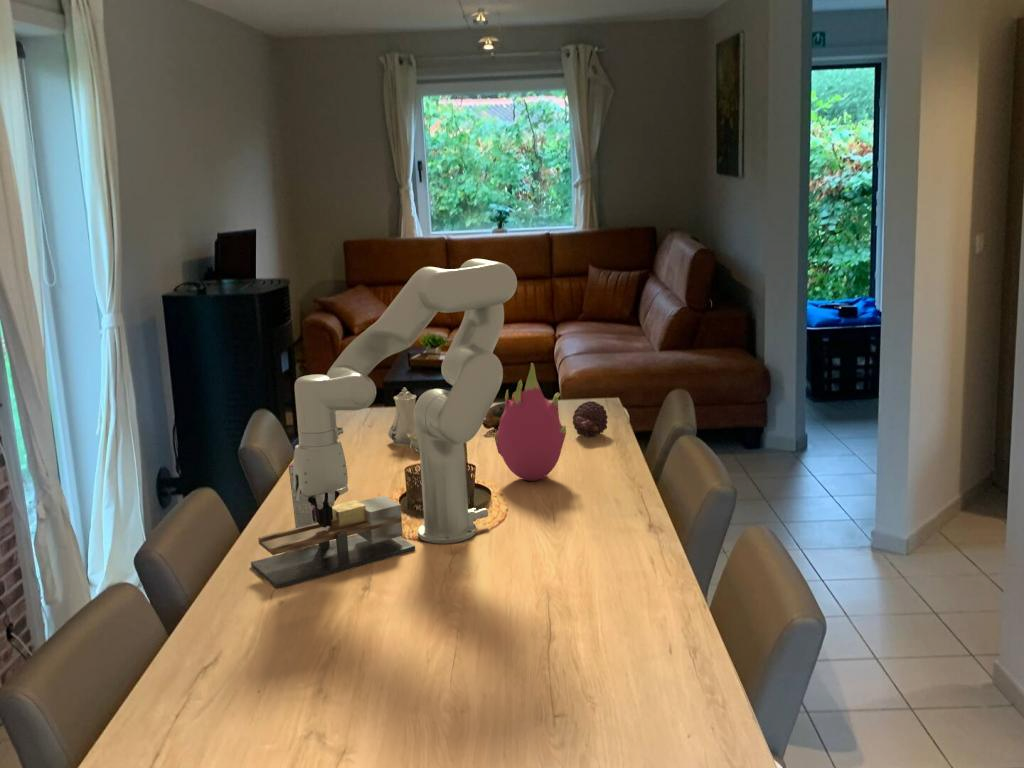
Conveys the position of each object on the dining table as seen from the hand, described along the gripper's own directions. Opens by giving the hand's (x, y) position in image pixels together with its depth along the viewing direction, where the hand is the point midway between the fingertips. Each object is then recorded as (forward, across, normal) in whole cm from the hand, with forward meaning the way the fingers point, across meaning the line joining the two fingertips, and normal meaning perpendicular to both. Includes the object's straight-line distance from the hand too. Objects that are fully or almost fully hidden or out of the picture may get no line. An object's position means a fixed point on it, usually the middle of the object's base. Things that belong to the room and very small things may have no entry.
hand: (324, 524), depth 204 cm
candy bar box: (+8, -5, -19) cm, 21 cm away
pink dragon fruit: (+7, -61, -15) cm, 64 cm away
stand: (+8, -1, 0) cm, 8 cm away
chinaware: (+8, -56, -64) cm, 85 cm away
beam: (+5, -1, 0) cm, 5 cm away
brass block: (+1, -5, 0) cm, 5 cm away
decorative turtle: (+7, -82, -59) cm, 102 cm away
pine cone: (+7, -96, -36) cm, 103 cm away
